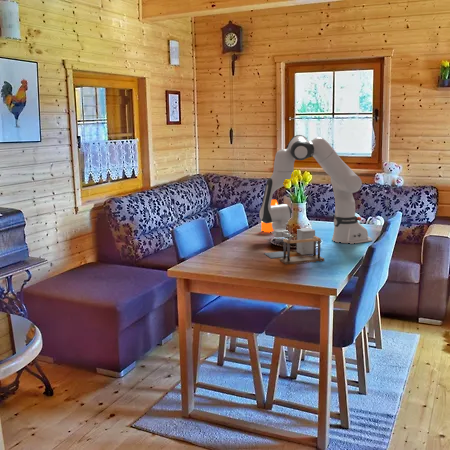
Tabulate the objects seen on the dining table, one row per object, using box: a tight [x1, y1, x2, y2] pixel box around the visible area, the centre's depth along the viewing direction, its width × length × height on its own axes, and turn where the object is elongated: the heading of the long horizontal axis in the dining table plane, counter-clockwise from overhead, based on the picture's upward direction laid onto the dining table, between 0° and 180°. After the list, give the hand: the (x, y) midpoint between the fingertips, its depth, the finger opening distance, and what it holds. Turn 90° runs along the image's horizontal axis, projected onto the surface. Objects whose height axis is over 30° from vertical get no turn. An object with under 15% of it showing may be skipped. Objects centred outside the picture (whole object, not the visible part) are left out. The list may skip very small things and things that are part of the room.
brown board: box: [279, 254, 325, 265], centre depth 273 cm, size 20×8×1 cm, turn 105°
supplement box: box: [296, 227, 316, 256], centre depth 287 cm, size 7×7×13 cm
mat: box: [263, 250, 287, 259], centre depth 284 cm, size 10×10×1 cm
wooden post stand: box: [282, 235, 322, 261], centre depth 272 cm, size 17×6×10 cm, turn 105°
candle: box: [283, 195, 291, 208], centre depth 357 cm, size 7×14×20 cm, turn 78°
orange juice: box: [260, 199, 279, 233], centre depth 342 cm, size 8×9×20 cm
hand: (296, 235), depth 298 cm, fingers open, 8 cm apart
